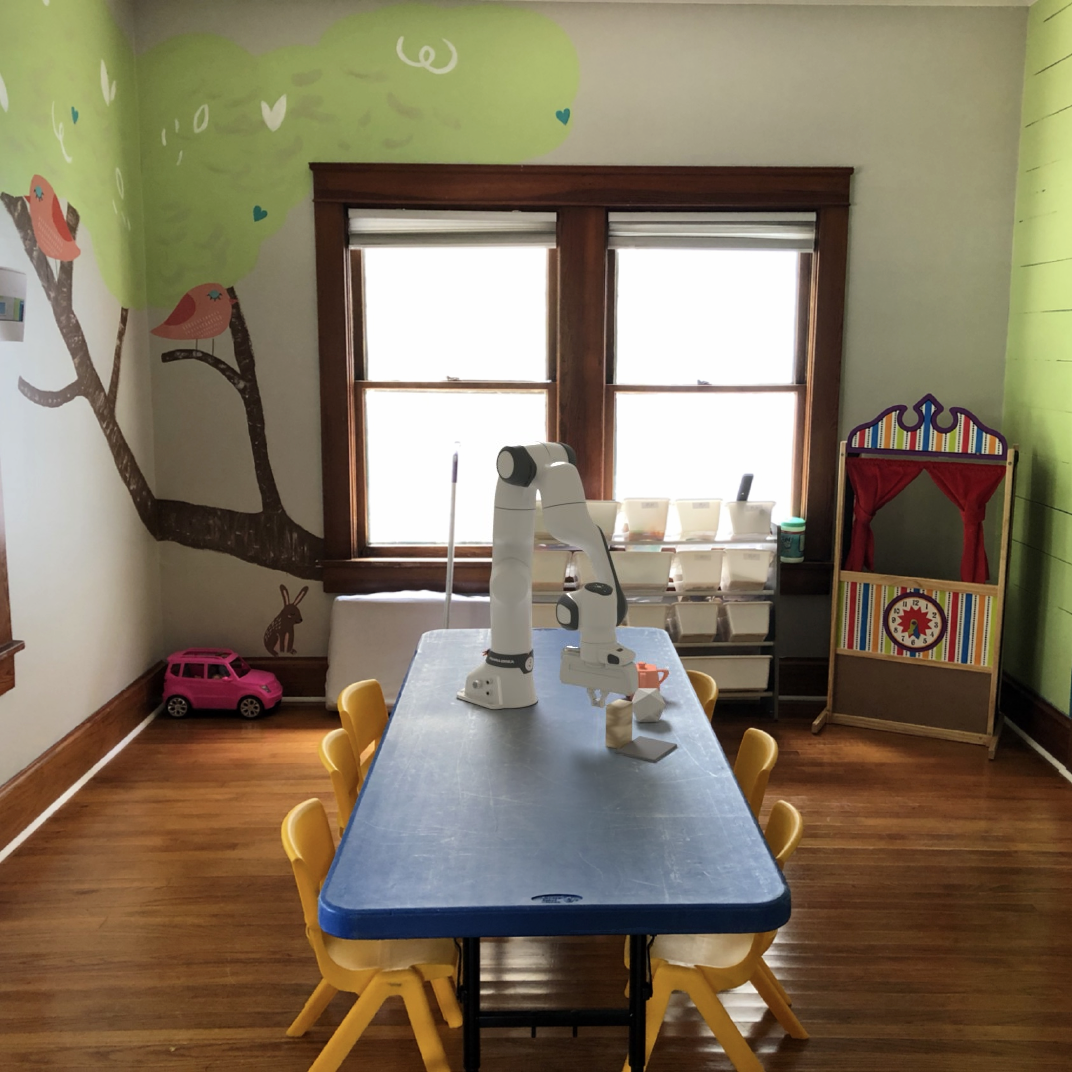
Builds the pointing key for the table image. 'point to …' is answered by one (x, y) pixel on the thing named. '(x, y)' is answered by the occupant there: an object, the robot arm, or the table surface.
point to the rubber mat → (646, 749)
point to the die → (648, 705)
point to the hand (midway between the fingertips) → (597, 706)
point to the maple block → (619, 723)
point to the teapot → (649, 676)
